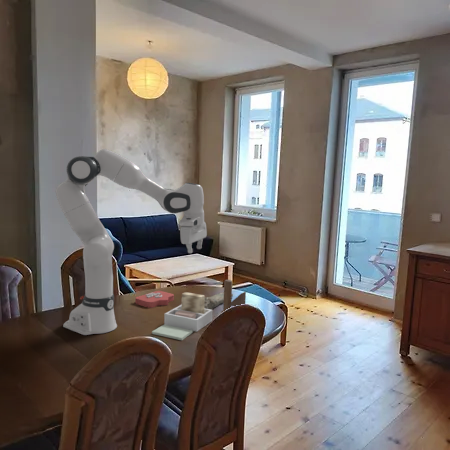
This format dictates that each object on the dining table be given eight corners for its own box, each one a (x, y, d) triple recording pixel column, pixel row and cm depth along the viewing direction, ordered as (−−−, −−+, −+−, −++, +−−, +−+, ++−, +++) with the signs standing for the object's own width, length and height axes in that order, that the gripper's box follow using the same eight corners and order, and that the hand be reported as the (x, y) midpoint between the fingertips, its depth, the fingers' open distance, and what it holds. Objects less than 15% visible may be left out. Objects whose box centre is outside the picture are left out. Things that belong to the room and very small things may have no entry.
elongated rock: (237, 300, 225) (221, 298, 230) (237, 290, 225) (221, 288, 230) (202, 315, 195) (184, 312, 199) (202, 304, 194) (184, 301, 199)
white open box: (164, 324, 182) (164, 313, 181) (181, 314, 195) (181, 304, 195) (196, 331, 175) (197, 320, 175) (212, 320, 189) (212, 309, 188)
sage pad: (152, 333, 171) (152, 331, 171) (163, 326, 180) (163, 324, 179) (181, 340, 166) (181, 337, 166) (192, 332, 174) (192, 330, 174)
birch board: (181, 319, 189) (181, 293, 188) (184, 317, 192) (185, 292, 190) (200, 323, 185) (201, 297, 184) (203, 321, 188) (204, 295, 186)
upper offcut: (175, 319, 181) (175, 312, 181) (179, 316, 185) (179, 310, 185) (191, 322, 178) (191, 315, 178) (195, 319, 182) (195, 313, 182)
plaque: (154, 302, 201) (133, 296, 209) (154, 310, 201) (133, 304, 210) (179, 294, 215) (158, 289, 224) (179, 301, 216) (158, 296, 224)
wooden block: (240, 324, 186) (241, 284, 184) (221, 318, 192) (222, 280, 190) (244, 321, 189) (246, 283, 186) (225, 316, 195) (227, 279, 193)
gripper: (197, 216, 194) (197, 246, 195) (177, 222, 175) (178, 254, 176) (209, 217, 191) (210, 246, 193) (191, 223, 172) (191, 255, 174)
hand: (194, 250), depth 185 cm, fingers open, 8 cm apart
